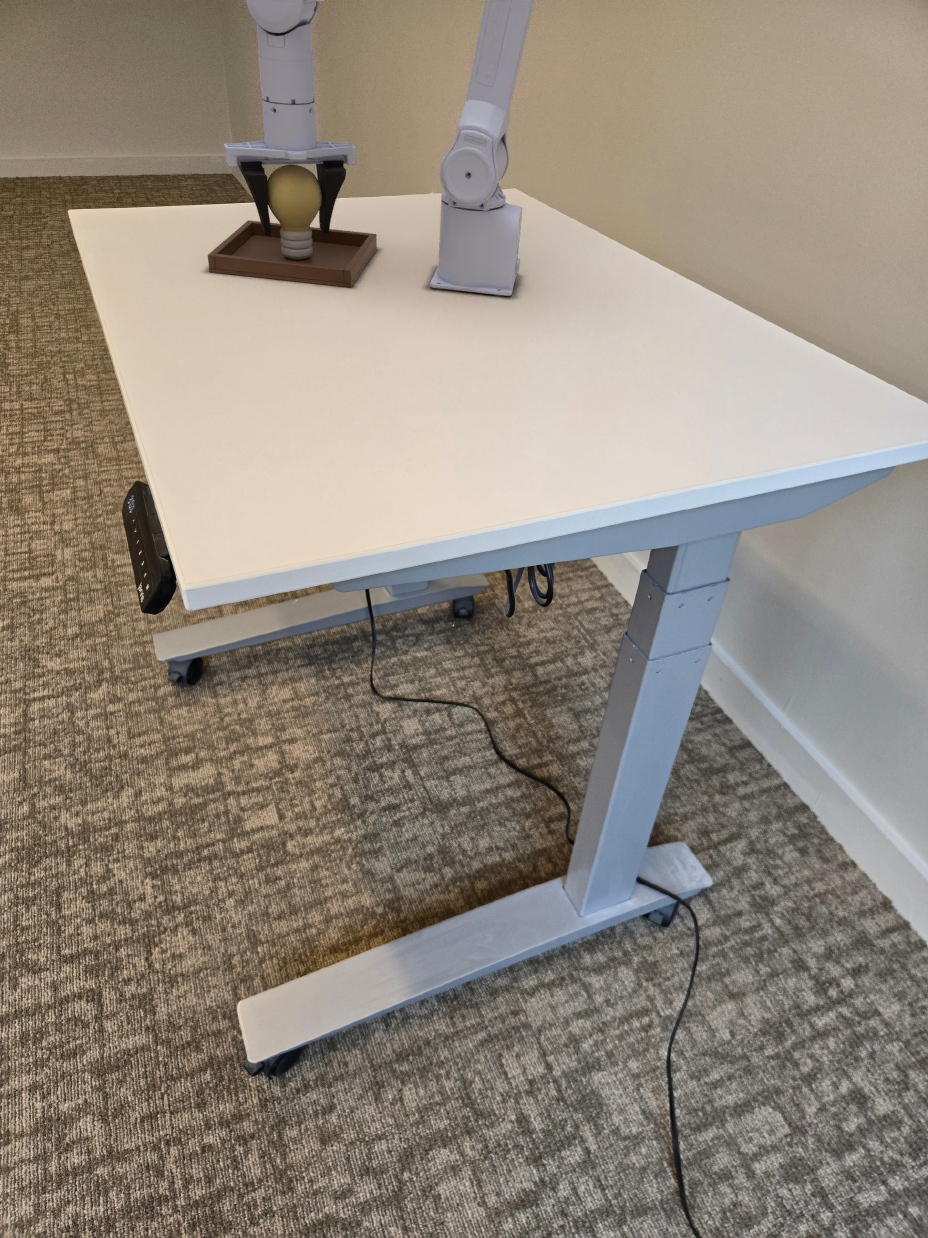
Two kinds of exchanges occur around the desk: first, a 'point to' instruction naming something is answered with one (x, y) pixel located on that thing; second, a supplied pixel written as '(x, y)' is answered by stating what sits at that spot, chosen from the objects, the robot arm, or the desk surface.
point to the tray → (262, 257)
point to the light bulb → (294, 207)
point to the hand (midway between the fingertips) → (295, 231)
